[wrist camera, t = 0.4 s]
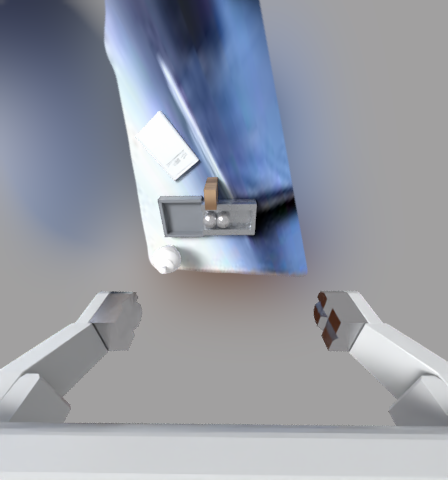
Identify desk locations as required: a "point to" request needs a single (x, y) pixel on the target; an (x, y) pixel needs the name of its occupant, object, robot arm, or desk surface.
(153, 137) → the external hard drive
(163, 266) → the white vase
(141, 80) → the desk surface
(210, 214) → the shiny gray ball
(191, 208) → the tray
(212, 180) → the tan long rectangular block
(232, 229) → the slot block
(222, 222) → the silver metal ball
